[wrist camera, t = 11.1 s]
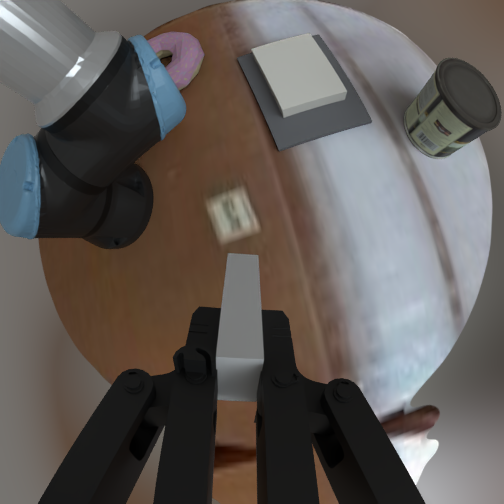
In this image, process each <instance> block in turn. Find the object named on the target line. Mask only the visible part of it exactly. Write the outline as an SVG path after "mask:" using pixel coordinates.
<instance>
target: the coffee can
mask: <svg viewBox="0 0 504 504" xmlns="http://www.w3.org/2000/svg"><path fill="white" fill-rule="evenodd" d="M500 120H501V106H500V102H499V99H498V97H497V94H496V92H495V91H494V89H493V87H492V86H491V84H490V83H489V81H488V80H487V79H486V78H485V77H484V75H483V74H481V72H480V71H478V70H477V69H476V68H475V67H473V66H472V65H470V64H469V63H467V62H465V61H463V60H460V59H457V58H446V59H444V60H442V61H441V62H440V63H439V64H438V66H437V69H436V71H435V72H434V73H433V75H432V76H431V78H430V79H429V80H428V82H427V83H426V85H425V86H424V87H423V89H422V90H421V92H420V93H419V94H418V96H417V97H416V98H415V100H414V101H413V102H412V104H411V105H410V106H409V107H408V108H407V110H406V112H405V115H404V126H405V130H406V133H407V135H408V137H409V139H410V140H411V142H412V143H413V144H414V146H415V147H416V148H417V149H418V150H419V151H421V152H422V153H423V154H425V155H427V156H429V157H431V158H435V159H443V158H446V157H448V156H450V155H451V154H452V153H454V152H455V151H457V150H458V149H460V148H462V147H463V146H465V145H466V144H468V143H470V142H471V141H473V140H474V139H476V138H478V137H479V136H481V135H482V134H484V133H485V132H487V131H490V130H492V129H494V128H496V127H497V126H498V124H499V123H500Z"/></svg>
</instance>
